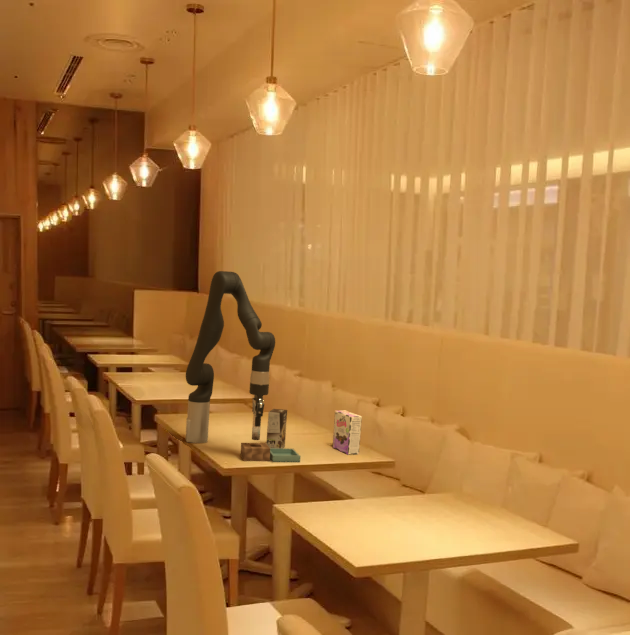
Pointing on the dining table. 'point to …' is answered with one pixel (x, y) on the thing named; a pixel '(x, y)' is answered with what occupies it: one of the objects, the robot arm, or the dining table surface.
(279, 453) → the tray
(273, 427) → the coffee box
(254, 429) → the steel pin
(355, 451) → the candy box
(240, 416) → the dining table surface
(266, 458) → the pin block
